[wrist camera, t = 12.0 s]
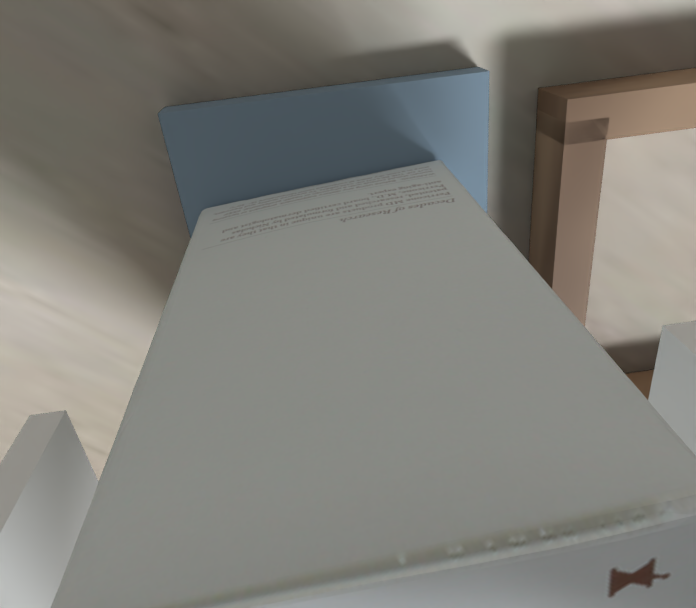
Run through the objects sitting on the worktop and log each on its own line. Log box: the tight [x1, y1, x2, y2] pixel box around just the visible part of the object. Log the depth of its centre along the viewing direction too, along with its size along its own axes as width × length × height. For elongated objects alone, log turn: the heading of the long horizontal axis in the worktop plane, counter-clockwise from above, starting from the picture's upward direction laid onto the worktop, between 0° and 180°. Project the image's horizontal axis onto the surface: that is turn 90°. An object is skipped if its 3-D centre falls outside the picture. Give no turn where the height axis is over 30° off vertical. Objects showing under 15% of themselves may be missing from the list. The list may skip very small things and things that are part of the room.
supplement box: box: [51, 160, 696, 608], centre depth 13 cm, size 7×7×13 cm
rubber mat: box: [158, 67, 489, 238], centre depth 19 cm, size 9×12×1 cm
